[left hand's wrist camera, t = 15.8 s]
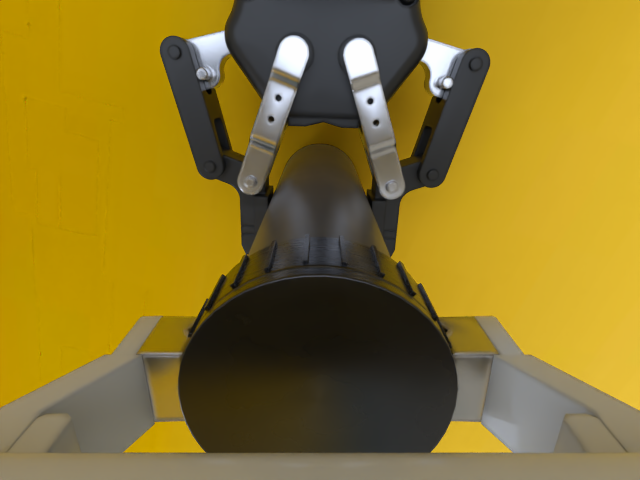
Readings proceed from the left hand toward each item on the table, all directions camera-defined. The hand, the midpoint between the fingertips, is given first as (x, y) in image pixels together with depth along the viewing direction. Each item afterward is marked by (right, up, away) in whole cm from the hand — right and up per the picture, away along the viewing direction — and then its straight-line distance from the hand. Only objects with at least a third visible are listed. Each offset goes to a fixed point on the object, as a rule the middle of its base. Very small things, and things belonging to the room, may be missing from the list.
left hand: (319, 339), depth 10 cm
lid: (0, -1, -2) cm, 2 cm away
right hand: (0, +1, +11) cm, 11 cm away
